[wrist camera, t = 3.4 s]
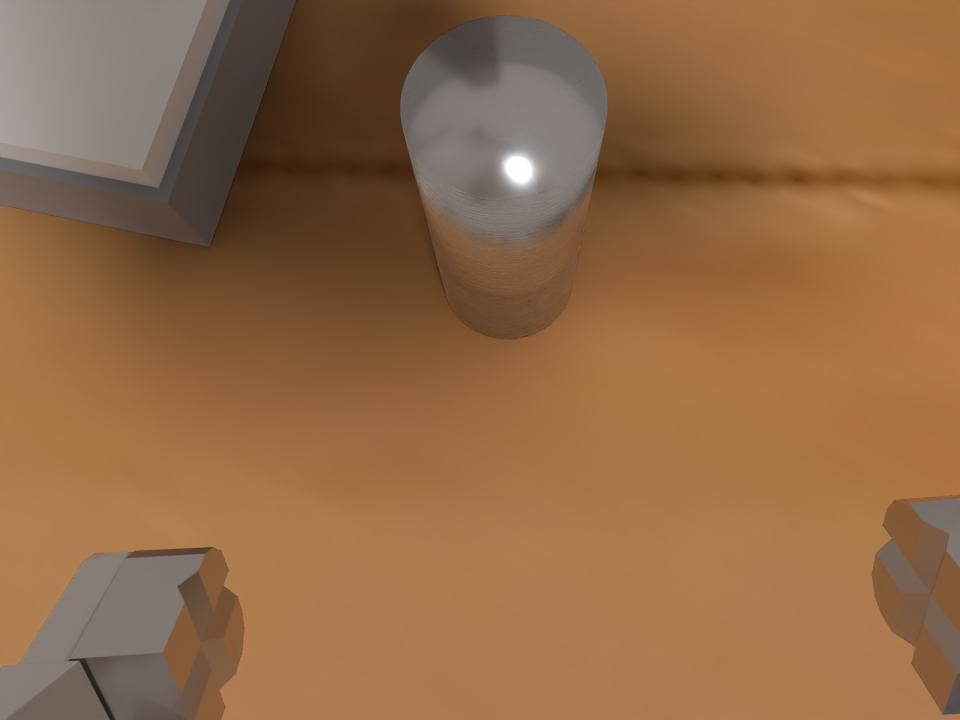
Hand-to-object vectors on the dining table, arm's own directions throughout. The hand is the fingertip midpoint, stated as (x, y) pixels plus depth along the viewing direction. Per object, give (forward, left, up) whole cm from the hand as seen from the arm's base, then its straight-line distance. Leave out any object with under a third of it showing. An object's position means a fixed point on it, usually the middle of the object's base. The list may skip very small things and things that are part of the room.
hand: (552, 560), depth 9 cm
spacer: (-3, +8, -12) cm, 15 cm away
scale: (-16, +12, -12) cm, 23 cm away
